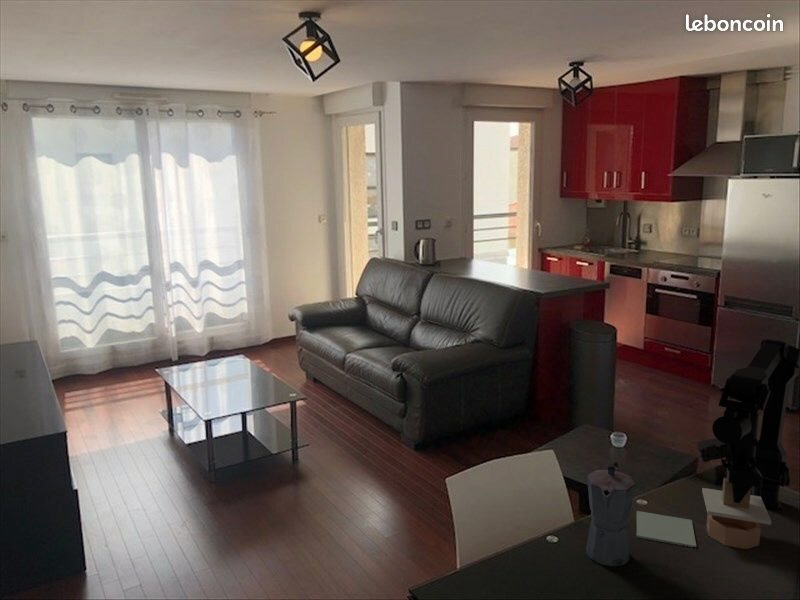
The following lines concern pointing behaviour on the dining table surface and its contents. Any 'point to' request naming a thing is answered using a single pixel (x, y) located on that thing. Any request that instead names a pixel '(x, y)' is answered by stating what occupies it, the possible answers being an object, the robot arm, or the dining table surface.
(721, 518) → the bowl
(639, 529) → the mat
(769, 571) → the dining table surface
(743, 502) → the cover
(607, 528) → the moka pot
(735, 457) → the robot arm
